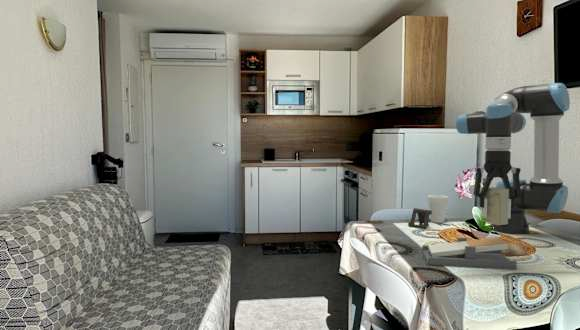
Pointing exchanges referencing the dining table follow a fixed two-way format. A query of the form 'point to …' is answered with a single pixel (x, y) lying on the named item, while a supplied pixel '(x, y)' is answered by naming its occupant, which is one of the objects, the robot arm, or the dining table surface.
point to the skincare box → (497, 206)
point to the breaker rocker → (459, 247)
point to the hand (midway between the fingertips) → (495, 217)
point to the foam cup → (437, 207)
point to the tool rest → (514, 249)
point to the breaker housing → (471, 258)
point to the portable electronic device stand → (420, 218)
